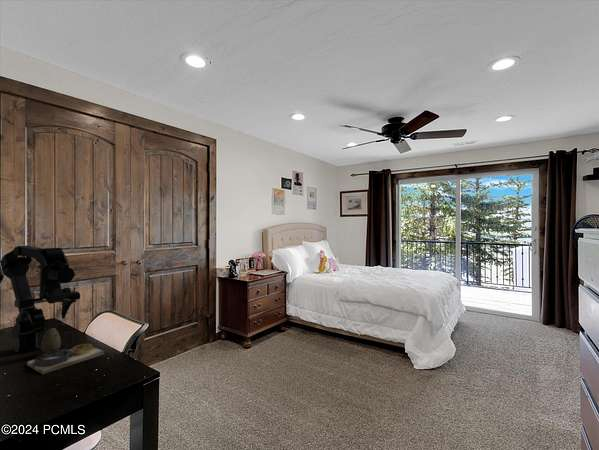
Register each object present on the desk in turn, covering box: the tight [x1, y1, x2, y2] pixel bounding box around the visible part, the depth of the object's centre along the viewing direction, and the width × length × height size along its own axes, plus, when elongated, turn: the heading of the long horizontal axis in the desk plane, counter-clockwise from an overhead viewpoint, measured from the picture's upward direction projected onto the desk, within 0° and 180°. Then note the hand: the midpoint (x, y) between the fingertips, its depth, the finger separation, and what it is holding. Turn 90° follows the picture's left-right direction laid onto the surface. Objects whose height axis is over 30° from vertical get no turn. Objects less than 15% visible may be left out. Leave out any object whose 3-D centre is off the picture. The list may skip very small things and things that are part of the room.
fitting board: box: [26, 346, 105, 375], centre depth 111 cm, size 13×19×1 cm
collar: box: [34, 348, 72, 367], centre depth 108 cm, size 10×10×2 cm
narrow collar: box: [71, 342, 94, 355], centre depth 116 cm, size 6×6×2 cm
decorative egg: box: [40, 327, 62, 354], centre depth 116 cm, size 6×6×10 cm
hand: (48, 321), depth 115 cm, fingers open, 9 cm apart
